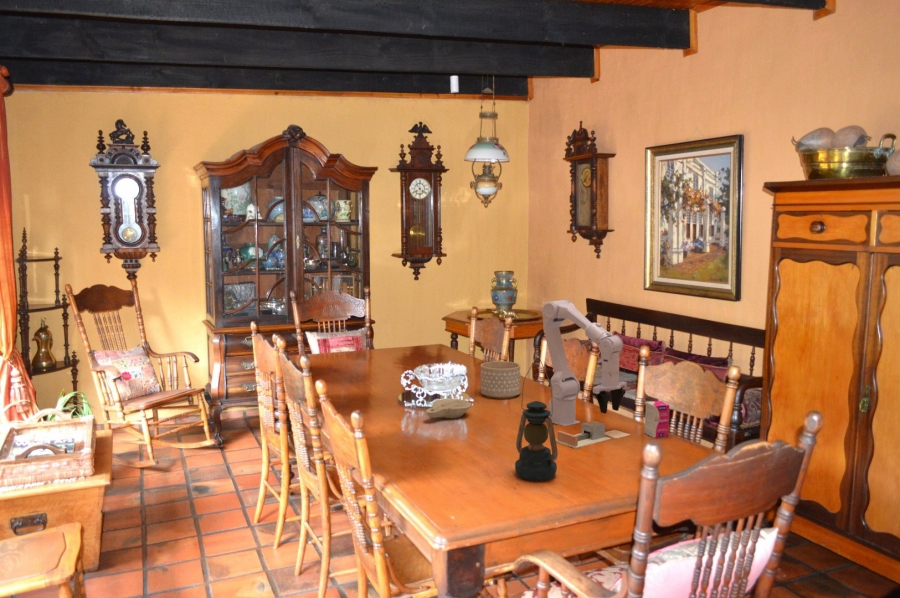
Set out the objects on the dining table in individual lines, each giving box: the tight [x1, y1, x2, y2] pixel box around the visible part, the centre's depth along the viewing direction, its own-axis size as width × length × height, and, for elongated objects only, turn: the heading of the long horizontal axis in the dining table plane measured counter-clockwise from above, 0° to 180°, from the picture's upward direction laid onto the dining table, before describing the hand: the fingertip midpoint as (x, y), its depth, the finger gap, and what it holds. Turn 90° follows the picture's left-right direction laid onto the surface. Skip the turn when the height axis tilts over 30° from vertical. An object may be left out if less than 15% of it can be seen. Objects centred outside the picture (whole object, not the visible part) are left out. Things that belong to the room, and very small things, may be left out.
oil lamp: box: [425, 398, 472, 419], centre depth 270 cm, size 21×14×5 cm
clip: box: [580, 420, 606, 440], centre depth 244 cm, size 5×6×4 cm
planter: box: [480, 360, 521, 400], centre depth 304 cm, size 16×16×13 cm
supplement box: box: [644, 400, 670, 439], centre depth 246 cm, size 6×6×12 cm
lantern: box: [514, 354, 559, 483], centre depth 208 cm, size 14×12×35 cm
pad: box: [605, 429, 631, 439], centre depth 248 cm, size 7×7×1 cm
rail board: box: [555, 430, 612, 450], centre depth 241 cm, size 10×16×4 cm, turn 126°
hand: (609, 411), depth 248 cm, fingers open, 5 cm apart
